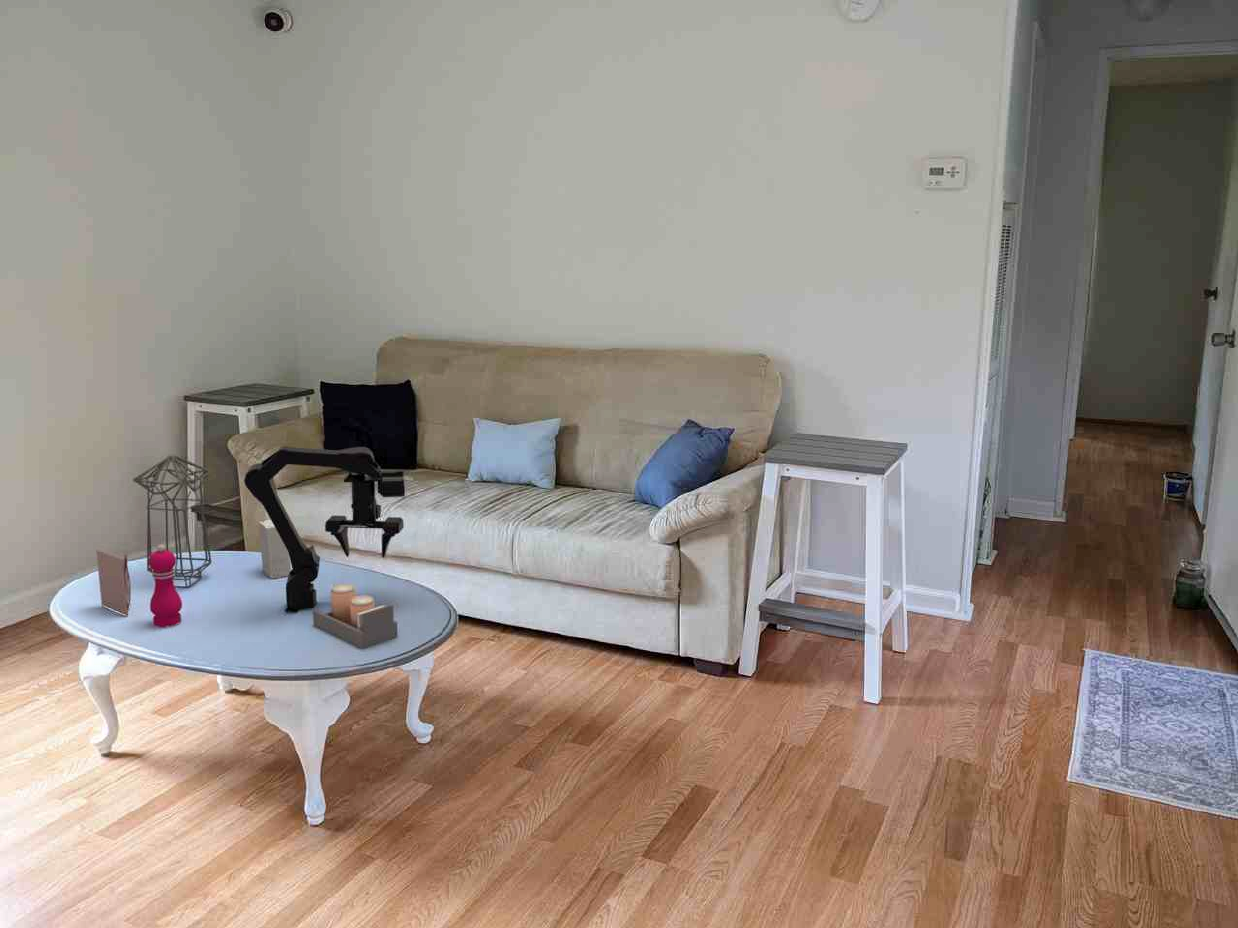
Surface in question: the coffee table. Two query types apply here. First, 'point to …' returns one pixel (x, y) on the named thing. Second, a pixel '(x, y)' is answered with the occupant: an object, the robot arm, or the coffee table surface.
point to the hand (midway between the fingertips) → (365, 556)
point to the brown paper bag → (114, 582)
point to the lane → (374, 627)
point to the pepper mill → (164, 589)
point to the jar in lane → (360, 607)
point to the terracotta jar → (342, 602)
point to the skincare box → (273, 551)
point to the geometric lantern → (160, 467)
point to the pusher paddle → (360, 618)
